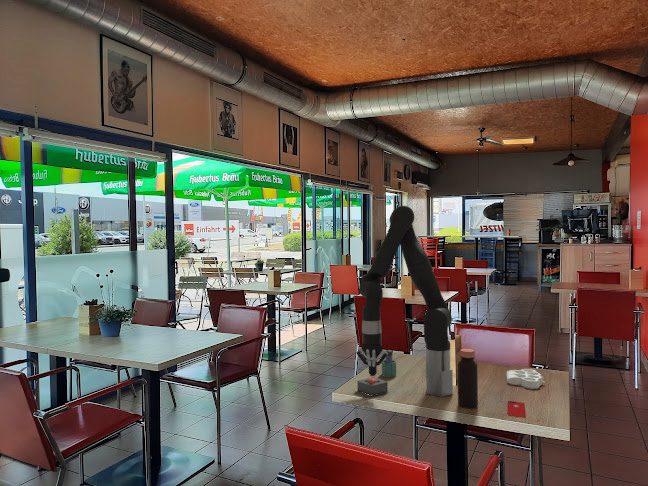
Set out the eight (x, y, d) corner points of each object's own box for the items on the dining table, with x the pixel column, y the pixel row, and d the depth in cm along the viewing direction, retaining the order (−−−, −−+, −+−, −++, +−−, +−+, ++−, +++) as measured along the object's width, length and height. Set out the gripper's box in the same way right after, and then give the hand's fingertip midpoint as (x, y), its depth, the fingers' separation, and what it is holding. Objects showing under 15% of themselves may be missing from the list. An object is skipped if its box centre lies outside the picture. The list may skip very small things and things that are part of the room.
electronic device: (526, 419, 159) (524, 404, 173) (526, 417, 159) (524, 402, 173) (507, 417, 161) (507, 402, 175) (507, 415, 161) (507, 400, 175)
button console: (387, 392, 187) (387, 382, 187) (370, 396, 182) (370, 386, 182) (373, 386, 194) (373, 376, 194) (357, 390, 189) (357, 380, 189)
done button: (379, 387, 187) (379, 380, 187) (371, 389, 185) (371, 381, 185) (373, 385, 191) (373, 377, 191) (365, 386, 189) (365, 379, 189)
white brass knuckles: (506, 374, 209) (543, 377, 204) (507, 387, 192) (547, 390, 187) (506, 367, 209) (543, 370, 204) (507, 378, 192) (547, 382, 187)
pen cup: (399, 375, 209) (399, 361, 209) (388, 377, 206) (388, 364, 205) (389, 372, 214) (389, 358, 214) (379, 374, 211) (379, 360, 211)
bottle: (478, 409, 167) (478, 352, 167) (458, 408, 168) (458, 352, 168) (476, 402, 174) (476, 348, 173) (457, 401, 175) (456, 347, 175)
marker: (394, 373, 209) (393, 351, 209) (388, 374, 208) (388, 352, 208) (389, 372, 212) (389, 349, 212) (384, 373, 210) (383, 350, 210)
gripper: (390, 330, 188) (391, 374, 188) (358, 328, 193) (359, 371, 193) (385, 334, 181) (386, 379, 181) (352, 332, 186) (353, 376, 186)
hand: (372, 375), depth 187 cm, fingers closed
